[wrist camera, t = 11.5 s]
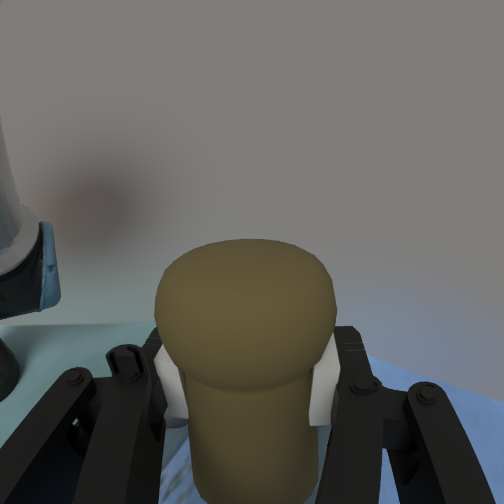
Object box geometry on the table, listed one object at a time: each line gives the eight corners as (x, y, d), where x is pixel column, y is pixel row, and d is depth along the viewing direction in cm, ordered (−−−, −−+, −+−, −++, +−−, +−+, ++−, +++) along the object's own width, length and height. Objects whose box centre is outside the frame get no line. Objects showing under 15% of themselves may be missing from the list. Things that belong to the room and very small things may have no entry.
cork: (266, 408, 16) (262, 214, 12) (344, 471, 11) (400, 253, 8) (171, 455, 13) (108, 248, 9) (240, 543, 8) (190, 349, 4)
